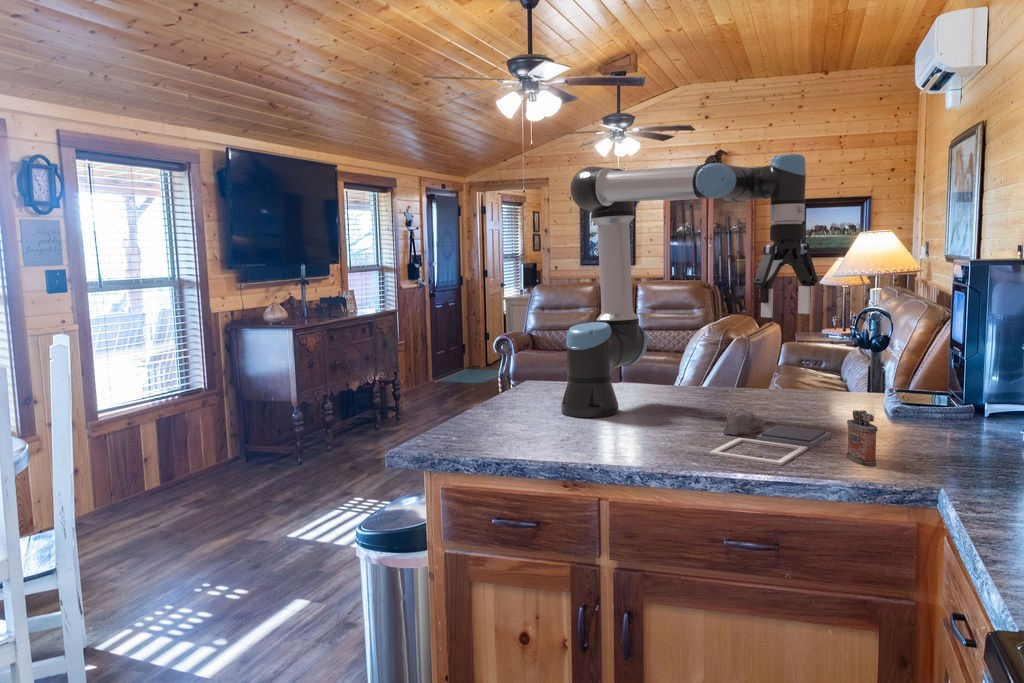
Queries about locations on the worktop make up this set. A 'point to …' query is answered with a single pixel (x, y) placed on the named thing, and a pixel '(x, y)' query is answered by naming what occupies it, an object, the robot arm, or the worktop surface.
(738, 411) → the stone
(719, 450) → the white flat square frame
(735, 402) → the worktop surface
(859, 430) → the lighter
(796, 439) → the ink pad
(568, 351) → the robot arm
